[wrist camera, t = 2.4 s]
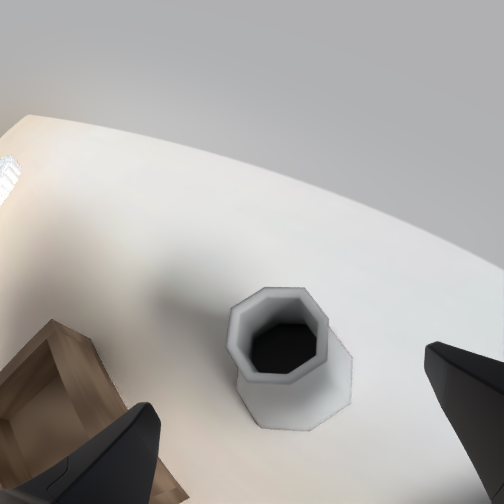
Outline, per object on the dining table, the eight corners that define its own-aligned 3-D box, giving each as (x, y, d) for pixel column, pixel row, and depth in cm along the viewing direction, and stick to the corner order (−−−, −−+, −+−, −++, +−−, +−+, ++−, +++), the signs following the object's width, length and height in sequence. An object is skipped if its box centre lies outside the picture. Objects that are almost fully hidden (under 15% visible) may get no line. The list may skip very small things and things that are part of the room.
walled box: (189, 497, 14) (155, 514, 10) (73, 548, 11) (35, 558, 7) (90, 339, 21) (51, 318, 17) (6, 416, 18) (-30, 406, 14)
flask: (226, 336, 19) (156, 263, 11) (334, 305, 19) (348, 208, 11) (249, 444, 15) (184, 470, 7) (368, 412, 15) (427, 406, 7)
